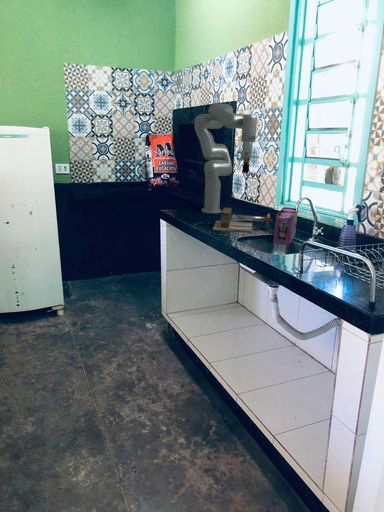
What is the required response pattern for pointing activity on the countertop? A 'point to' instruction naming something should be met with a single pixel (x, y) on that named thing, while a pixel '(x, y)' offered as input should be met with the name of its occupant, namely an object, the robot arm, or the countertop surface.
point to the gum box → (285, 226)
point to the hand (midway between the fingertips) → (245, 171)
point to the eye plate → (231, 223)
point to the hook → (255, 218)
